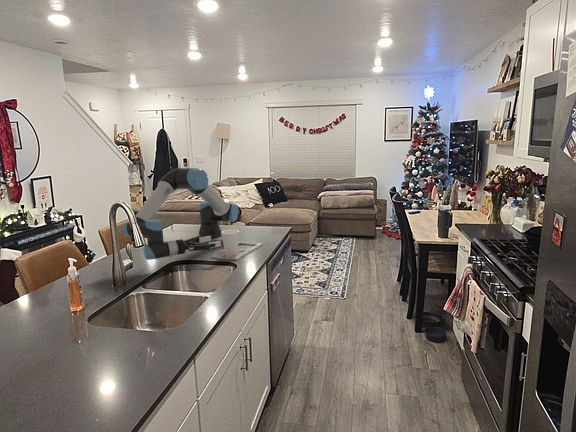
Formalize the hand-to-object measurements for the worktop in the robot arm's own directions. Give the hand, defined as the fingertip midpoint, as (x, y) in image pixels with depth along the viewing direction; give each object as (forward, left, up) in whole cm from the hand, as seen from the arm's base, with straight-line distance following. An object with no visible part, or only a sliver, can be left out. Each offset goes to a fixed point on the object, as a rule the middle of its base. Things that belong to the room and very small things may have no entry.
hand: (215, 240), depth 207 cm
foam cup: (-7, +5, -9) cm, 13 cm away
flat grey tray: (-14, +5, -9) cm, 18 cm away
